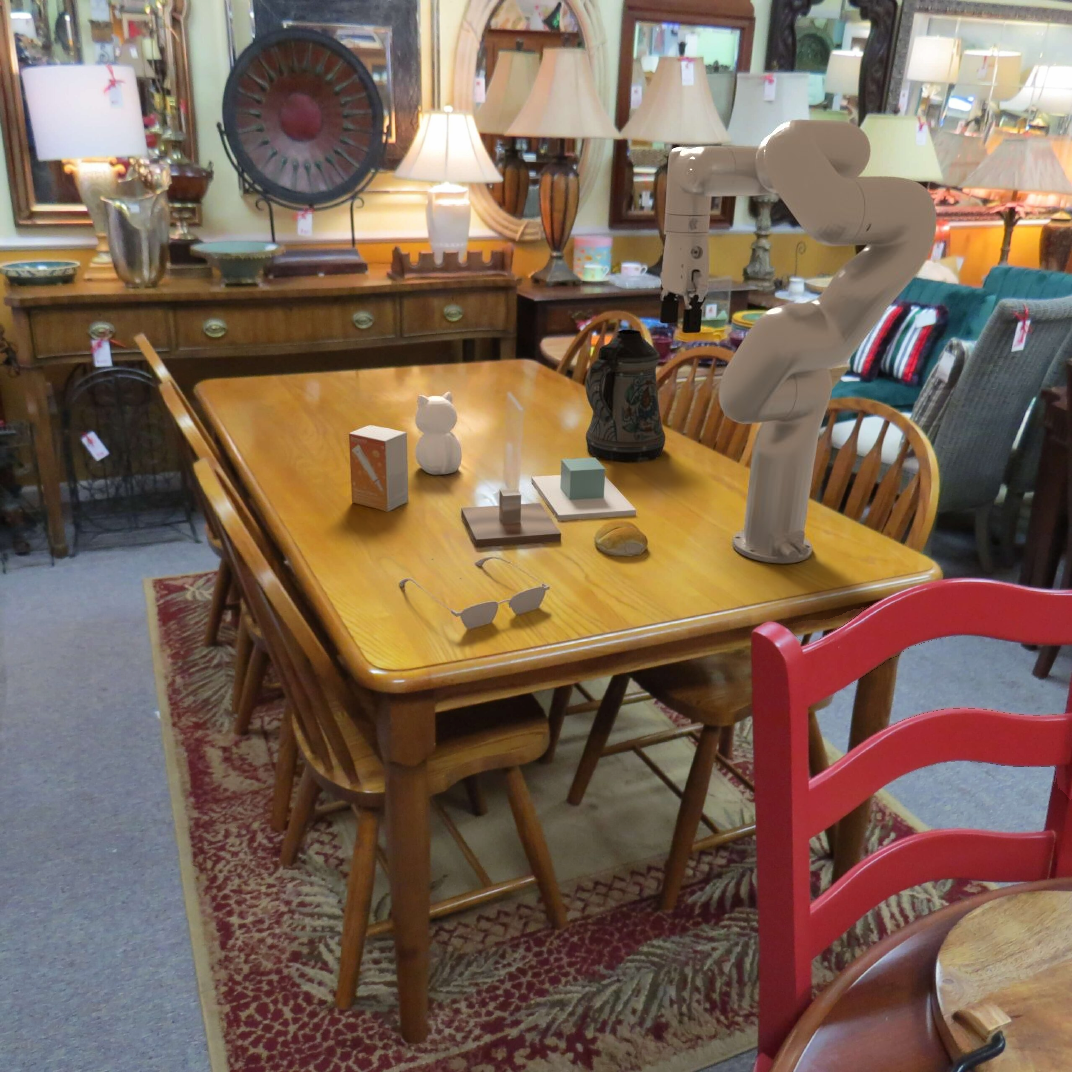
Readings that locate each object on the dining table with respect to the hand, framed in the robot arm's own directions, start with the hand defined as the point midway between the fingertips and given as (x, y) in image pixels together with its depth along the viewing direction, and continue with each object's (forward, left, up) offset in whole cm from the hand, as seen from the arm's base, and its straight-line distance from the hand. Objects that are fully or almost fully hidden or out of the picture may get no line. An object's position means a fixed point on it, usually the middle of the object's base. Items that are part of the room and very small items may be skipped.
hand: (679, 327), depth 172 cm
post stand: (-13, +33, -30) cm, 47 cm away
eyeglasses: (-37, +44, -31) cm, 65 cm away
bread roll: (-24, +17, -31) cm, 42 cm away
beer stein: (+23, +1, -31) cm, 38 cm away
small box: (+3, +53, -31) cm, 61 cm away
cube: (-1, +17, -29) cm, 34 cm away
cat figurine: (+18, +40, -31) cm, 53 cm away
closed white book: (-1, +17, -30) cm, 35 cm away
